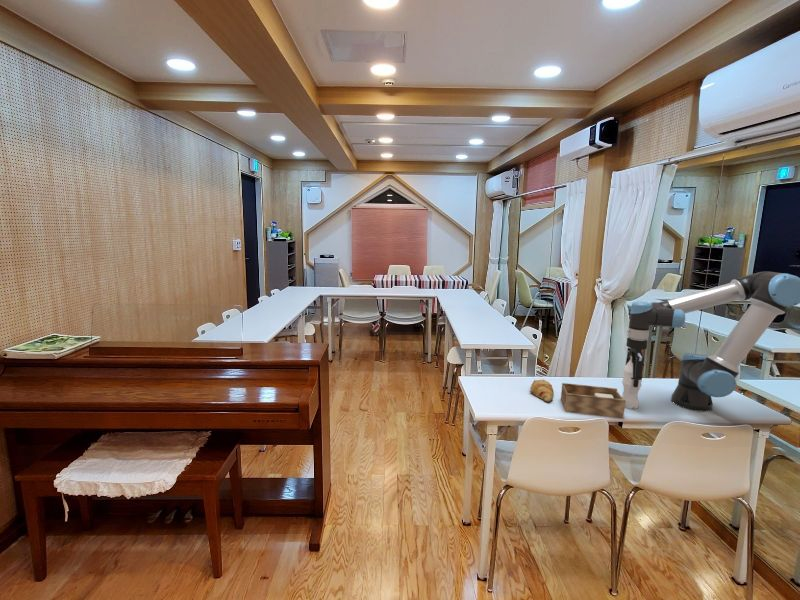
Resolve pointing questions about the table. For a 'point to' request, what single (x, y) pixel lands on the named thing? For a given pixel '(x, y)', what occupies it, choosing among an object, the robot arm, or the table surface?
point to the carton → (603, 395)
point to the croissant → (542, 390)
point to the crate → (592, 400)
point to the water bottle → (630, 398)
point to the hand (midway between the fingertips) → (630, 390)
